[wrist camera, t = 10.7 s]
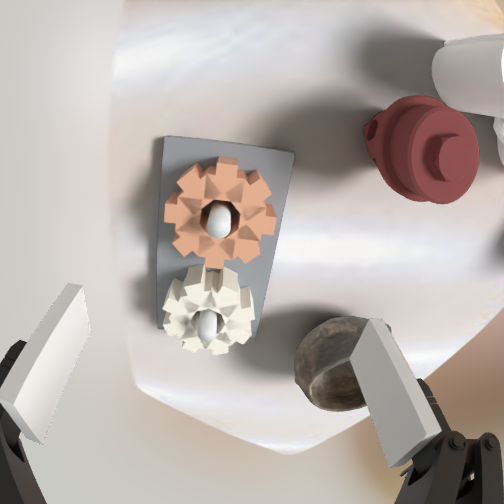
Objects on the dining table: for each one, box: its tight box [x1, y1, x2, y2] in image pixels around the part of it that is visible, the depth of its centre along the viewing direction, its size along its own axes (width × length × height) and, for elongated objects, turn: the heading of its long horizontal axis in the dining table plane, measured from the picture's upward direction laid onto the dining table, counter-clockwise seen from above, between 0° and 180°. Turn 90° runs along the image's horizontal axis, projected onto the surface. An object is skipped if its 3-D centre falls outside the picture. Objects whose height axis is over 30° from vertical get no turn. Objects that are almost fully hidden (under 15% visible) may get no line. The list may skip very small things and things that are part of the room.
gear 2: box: [163, 264, 255, 355], centre depth 34 cm, size 10×10×4 cm
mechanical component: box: [363, 96, 479, 204], centre depth 24 cm, size 12×10×10 cm
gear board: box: [157, 136, 295, 341], centre depth 31 cm, size 24×13×8 cm, turn 171°
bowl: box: [294, 316, 391, 412], centre depth 38 cm, size 14×15×10 cm
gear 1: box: [164, 156, 277, 269], centre depth 29 cm, size 10×10×4 cm
